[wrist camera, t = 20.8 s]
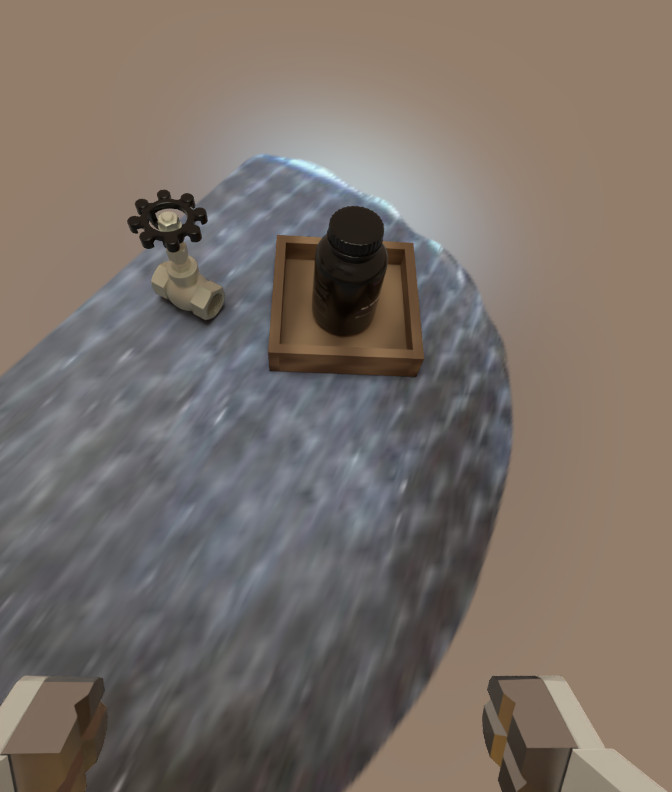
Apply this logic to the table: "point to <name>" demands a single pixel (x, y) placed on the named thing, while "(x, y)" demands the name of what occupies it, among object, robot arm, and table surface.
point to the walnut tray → (333, 353)
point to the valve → (177, 254)
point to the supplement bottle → (349, 271)
